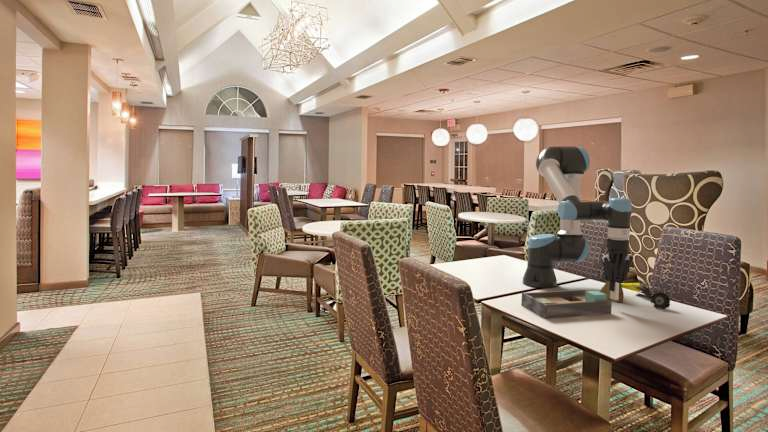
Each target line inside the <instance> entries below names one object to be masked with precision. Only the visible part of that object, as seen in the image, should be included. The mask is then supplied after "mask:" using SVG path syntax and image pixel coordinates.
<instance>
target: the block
mask: <svg viewBox="0 0 768 432" xmlns="http://www.w3.org/2000/svg"><path fill="white" fill-rule="evenodd" d="M585 295H586V299H585V302H588V301H604V300H607V299H606V294H604V293H601V292H600V291H598V290H591V291H589V290H588V291H587V290H586V292H585Z"/></svg>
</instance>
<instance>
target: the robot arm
mask: <svg viewBox="0 0 768 432" xmlns="http://www.w3.org/2000/svg"><path fill="white" fill-rule="evenodd" d="M590 158H591V157H590V155H589V152H588V150H586V149H585V148H584V147H582V146H555V145H553V146H548V147H545V148H544V149H543V150H542V151H540V152H539V154H537V158H536V161H535V168H536V170H537V172H538V173H539V175H540V176H542V177H543V178H544V179H545V182H546V183H547V185H548V186H549V188H550V190H551V192H552V193H553V195H554V197H555V198H556V201H557V203H558V206H557V215H558V217H559V218H560V220H559V221H560V225H559V229H560V230H558V231H557V232H556V235H555V234H553V233H540V234H535V235H532V236H530V237H529V238H528V245H527V266H526V270H525V272H524V274H523V277H522V283H523V284H524V285H525V286H529V287H532V288H539V289H540V288H542V289H550V288H555V287H557V285H558V280H557V277H556V273H555V269H554V265H555V263H580V262H581V263H582V262H583V261H584V260H585V259H586V258H587V257H588V254H589V249H590V244H589V240H588V238H586V237H584V233H583V232H582V230H581V221H607V232H606V236H607V238H606V249H607V250H606V252H605V253H606V254H605V255H604V256H601V257H600V260H601V262H602V267H603V274H604V275H603V276H604V280H605V281H606V282H607V281H609V282H610V287H609V290H611V291H610V298H611V299H614V300H618V297H619V291H620V286H622V284H623V283H624V282H626V280H627V277H628V274H629V270H630V267H631V263H632V261H633V260H634V257H633V256H631V255H629V252H628V250H629V249H630V240H629V239H630V237H631V236H630V234H631V221H632V220H631V219H632V210H633V208H632V205H633V202H632V199H630V198H627V197H625V198H624V197H611V198H610V199H609V201H606V200H596V201H595V200H594V201H591V200H590V201H588V200H587V201H586V200H585V201H583V200H581V180H582V178H583V177H584V176H585V172H588V170H589V167H590V163H591V159H590Z"/></svg>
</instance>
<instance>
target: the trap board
mask: <svg viewBox="0 0 768 432" xmlns="http://www.w3.org/2000/svg"><path fill="white" fill-rule="evenodd" d="M586 291H587V290H586V289H573V290H572V289H571V290H556V291H555V290H554V291H536V292H535V291H533V292H521V303H520V305H521V307H524V308H525V309H527V310H528V311H530V312H532V313H534V314H535V315H538V316H539V317H541V318H543V319H557V318H558V319H559V318H569V317H570V318H571V317H584V316H599V315H600V316H601V315H611V314H612V305H613V301H612V300H609V299H606V300H604V301H588V302H585V299H586Z"/></svg>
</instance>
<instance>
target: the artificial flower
mask: <svg viewBox="0 0 768 432" xmlns="http://www.w3.org/2000/svg"><path fill="white" fill-rule="evenodd" d="M642 281H643V283H640V285H639V286H638V285H635V284H632V286H633V287H634V288H635V289H636V290H637V291H639V292H636V293H635V296H638V295H639V294H643V295H644V296H646V297H647V298H648V299H650V303H651V304H653V307H654V308H655V309H663V310H665V309H667V308H669V307H670V306H671V303H670V302H671V298H670V297H669V295H667V294H666V293H664V292H660V291H659V292H654V293H653V294H652V292H651V288H653V286H650V285H649V281H648V280H647V279H643V280H642Z"/></svg>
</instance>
